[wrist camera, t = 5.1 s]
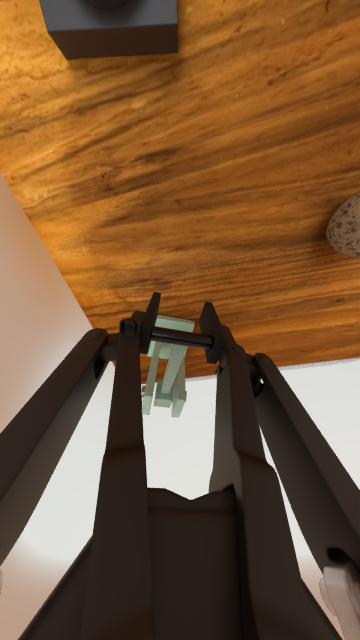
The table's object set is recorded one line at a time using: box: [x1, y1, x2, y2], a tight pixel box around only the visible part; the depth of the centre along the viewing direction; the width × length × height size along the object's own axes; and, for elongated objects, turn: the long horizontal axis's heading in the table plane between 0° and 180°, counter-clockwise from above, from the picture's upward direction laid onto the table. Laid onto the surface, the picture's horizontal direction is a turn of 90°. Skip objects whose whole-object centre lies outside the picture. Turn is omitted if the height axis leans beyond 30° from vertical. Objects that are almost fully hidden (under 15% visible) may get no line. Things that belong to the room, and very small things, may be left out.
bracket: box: [141, 315, 195, 417], centre depth 24 cm, size 10×8×14 cm
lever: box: [150, 326, 214, 407], centre depth 16 cm, size 14×5×2 cm, turn 169°
